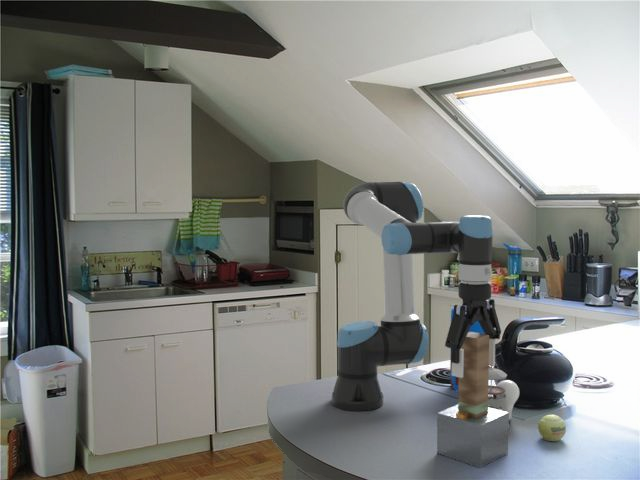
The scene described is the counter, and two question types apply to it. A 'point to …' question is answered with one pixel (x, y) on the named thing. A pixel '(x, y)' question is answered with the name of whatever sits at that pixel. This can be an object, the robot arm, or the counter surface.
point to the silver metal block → (472, 435)
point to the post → (474, 376)
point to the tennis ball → (552, 428)
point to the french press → (496, 390)
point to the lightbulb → (509, 394)
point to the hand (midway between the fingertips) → (473, 370)
